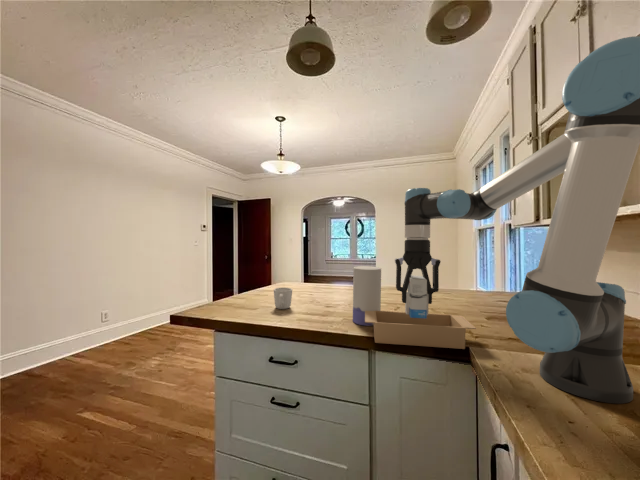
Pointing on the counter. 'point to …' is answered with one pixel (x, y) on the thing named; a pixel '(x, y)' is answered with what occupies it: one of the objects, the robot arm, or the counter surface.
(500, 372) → the counter surface
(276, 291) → the cup
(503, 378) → the counter surface
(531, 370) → the counter surface
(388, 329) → the carton
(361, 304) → the container
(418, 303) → the ink box
